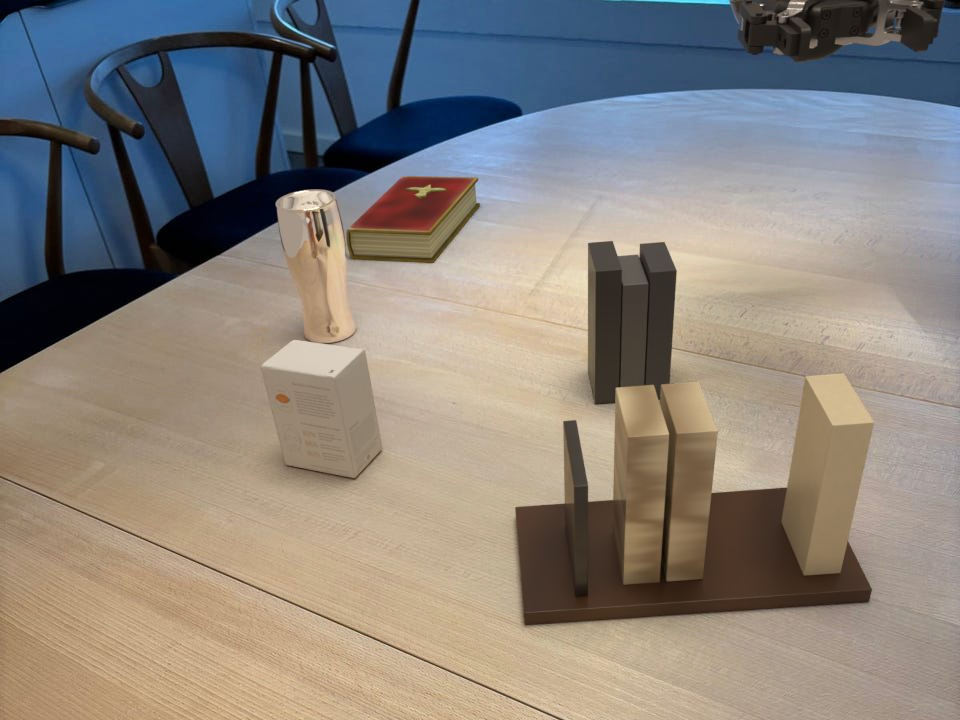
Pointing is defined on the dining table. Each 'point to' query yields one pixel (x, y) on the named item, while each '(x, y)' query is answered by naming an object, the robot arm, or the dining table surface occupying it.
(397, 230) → the hardcover book
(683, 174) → the dining table surface
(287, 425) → the small box
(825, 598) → the shelf
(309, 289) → the beer glass
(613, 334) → the grey books
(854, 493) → the cream book
